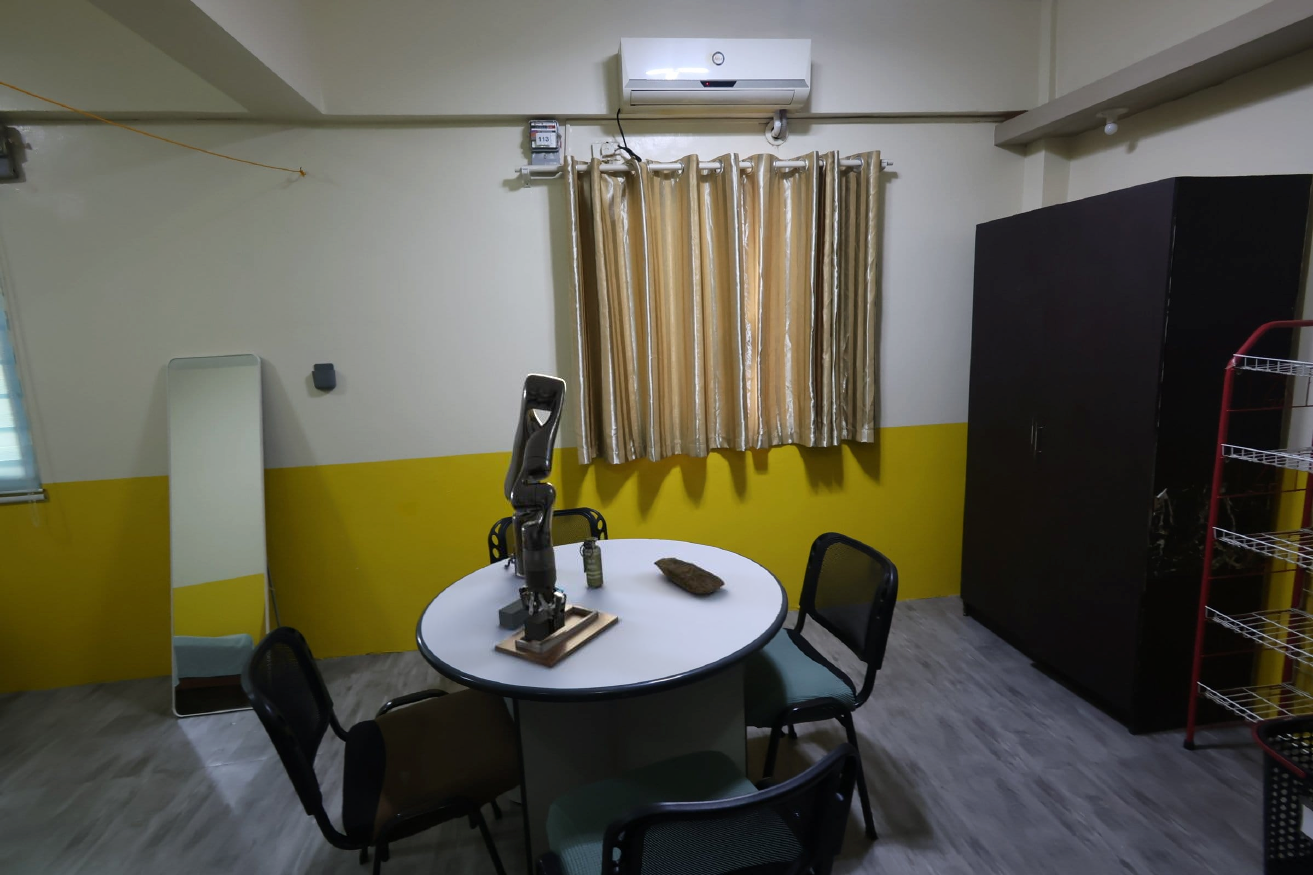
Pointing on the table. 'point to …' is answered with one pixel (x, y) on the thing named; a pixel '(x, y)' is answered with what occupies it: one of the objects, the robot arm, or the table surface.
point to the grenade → (592, 562)
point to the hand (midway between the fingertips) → (545, 629)
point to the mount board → (559, 637)
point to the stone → (689, 575)
